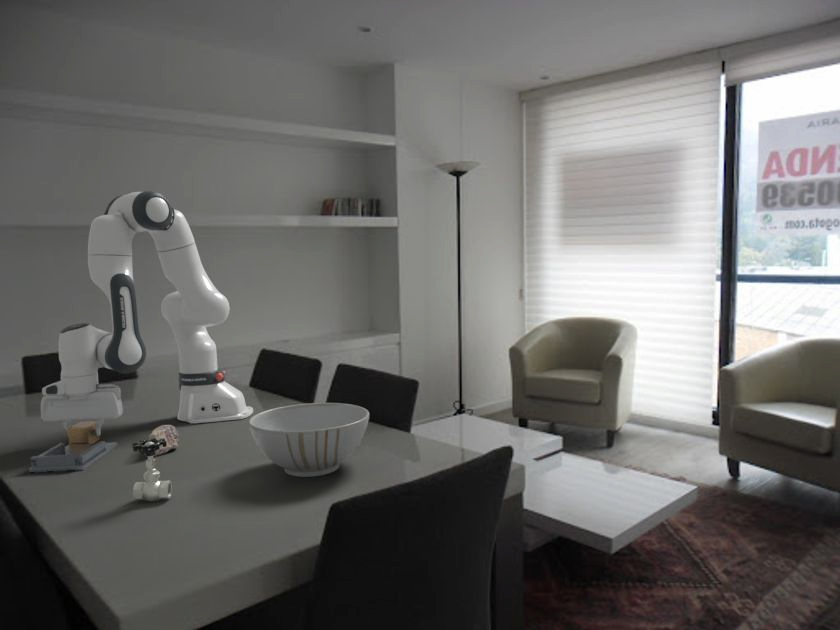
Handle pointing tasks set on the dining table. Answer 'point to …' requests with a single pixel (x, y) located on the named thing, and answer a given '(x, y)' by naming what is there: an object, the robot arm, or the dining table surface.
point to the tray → (70, 456)
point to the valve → (151, 473)
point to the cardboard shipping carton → (82, 433)
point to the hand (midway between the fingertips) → (84, 435)
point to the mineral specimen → (169, 436)
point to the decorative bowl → (309, 436)
